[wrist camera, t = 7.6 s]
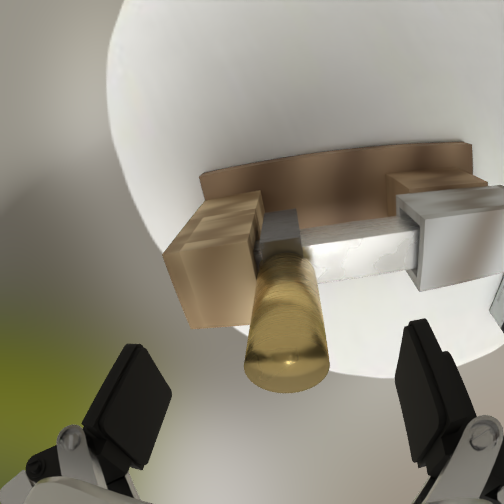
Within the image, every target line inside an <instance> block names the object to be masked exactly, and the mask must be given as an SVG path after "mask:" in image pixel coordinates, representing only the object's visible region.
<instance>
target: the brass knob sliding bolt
mask: <svg viewBox="0 0 504 504" xmlns="http://www.w3.org/2000/svg"><path fill="white" fill-rule="evenodd" d="M419 241H420V226H419V225H418V224H417V223H416V222H415V221H414V220H413V219H412V218H411V217H410V216H409V215H408V214H407V215H399V216H391V217H384V218H376V219H369V220H362V221H354V222H347V223H340V224H333V225H326V226H319V227H312V228H305V229H299V222H298V216H297V210H296V208H294V209H288V210H281V211H275V212H268V213H264V218H263V224H262V230H261V236H260V240H255V245H254V250H253V252H254V256H255V261H256V265H257V270H258V276H257V282H256V289H255V296H254V303H253V309H252V316H251V322H250V329H249V336H248V342H247V349H246V355H245V362H244V370H245V373H246V375H247V377H248V378H249V379H250V381H251V382H253V383H254V384H255V385H257V386H258V387H260V388H262V389H265V390H268V391H272V392H277V393H295V392H300V391H304V390H307V389H310V388H312V387H314V386H316V385H317V384H318V383H320V382H321V381H322V380H323V379H324V378H325V377H326V375H327V373H328V371H329V368H330V362H329V355H328V348H327V341H326V334H325V328H324V321H323V315H322V309H321V303H320V297H319V291H318V285H317V284H320V283H327V282H334V281H340V280H347V279H353V278H360V277H366V276H372V275H379V274H385V273H391V272H397V271H402V270H408V269H414V268H418V258H419Z"/></svg>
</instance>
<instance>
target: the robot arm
mask: <svg viewBox="0 0 504 504" xmlns="http://www.w3.org/2000/svg"><path fill="white" fill-rule="evenodd" d="M395 385H396V389H397V393H398V397H399V401H400V404H401V409H402V413H403V418H404V422H405V427H406V431H407V436H408V441H409V446H410V451H411V457H412V461H413V462H414V463H415V462H417V463H418V468H421V467H424V466H426V467H427V473H428V475H429V477H428V479H427V480H426V482H425V484H424V485H423V487H422V488H421V490H420V491H419V493H418V494H417V496H416V498H415V499H414V500H413V502H412V503H411V504H504V433H503V427H502V425H501V423H500V422H499V421H498V420H497V419H496V418H494V417H492V416H488V415H482V416H478V417H477V416H476V413H475V411H474V408H473V405H472V403H471V400H470V398H469V395H468V393H467V390H466V388H465V385H464V383H463V380H462V378H461V376H460V374H459V371H458V369H457V367H456V364H455V362H454V360H453V358H452V356H451V354H450V353H449V352H448V351H444V352H442V350H441V348H440V346H439V344H438V342H437V339H436V337H435V335H434V333H433V331H432V329H431V327H430V325H429V323H428V321H427V320H426V319H425V318H424V319H419V320H414V321H410V322H409V325H408V326H406V327H404V331H403V337H402V343H401V348H400V354H399V359H398V364H397V369H396V373H395ZM171 397H172V392H171V389H170V387H169V386H168V384H167V383H166V381H165V380H164V378H163V376H162V375H161V373H160V371H159V370H158V368H157V366H156V365H155V363H154V361H153V360H152V358H151V356H150V354H149V353H148V351H147V349H145V348H144V347H143V346H142V345H141V344H126V345H125V346H124V348H123V350H122V351H121V353H120V355H119V357H118V358H117V360H116V362H115V363H114V365H113V367H112V369H111V370H110V372H109V374H108V376H107V377H106V379H105V381H104V383H103V384H102V386H101V388H100V390H99V392H98V394H97V395H96V397H95V399H94V401H93V403H92V405H91V406H90V408H89V410H88V412H87V414H86V416H85V418H84V420H83V421H82V425H83V426H84V427H83V429H82V428H81V427H80V426H78V425H69V426H67V427H65V428H64V429H63V430H62V431H61V432H60V433H59V435H58V437H57V445H55V446H53V447H51V448H49V449H47V450H44V451H42V452H40V453H38V454H35V455H34V456H32V457H31V458H30V459H29V460H28V462H27V465H26V471H25V470H23V471H21V472H20V473H19V474H18V475H17V476H15V477H14V478H13V479H12V480H11V481H9V482H8V483H7V484H6V485H5V486H3V487H2V489H1V491H0V502H1V504H152V503H148V502H144V501H141V500H140V497H139V495H138V493H137V491H136V488H135V486H134V484H133V481H132V479H131V476H130V474H129V471H128V470H129V467H132V468H135V469H139V470H143V468H144V465H146V464H147V463H148V461H149V458H150V456H151V453H152V450H153V447H154V444H155V442H156V439H157V436H158V433H159V431H160V428H161V425H162V422H163V420H164V417H165V414H166V411H167V409H168V406H169V403H170V400H171Z"/></svg>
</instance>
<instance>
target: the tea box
mask: <svg viewBox="0 0 504 504" xmlns="http://www.w3.org/2000/svg"><path fill="white" fill-rule="evenodd" d="M490 313H491V314H492V316H493V317H494V319H495V321H496V322H497V324H498V325H499V327H500V328H501V330H502V331H503V333H504V278H503V280H502V283H501V285H500V288H499V290H498V292H497V295H496V297H495V299H494V301H493V304H492V306H491V308H490Z"/></svg>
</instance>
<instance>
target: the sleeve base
mask: <svg viewBox="0 0 504 504" xmlns="http://www.w3.org/2000/svg"><path fill="white" fill-rule="evenodd" d="M199 179H200V183H201V187H202V190H203V194H204V198H205V200H210V199H215V198H221V197H226V196H231V195H237V194H242V193H248V192H254V191H259V190H261V195H262V200H263V205H264V210H265V213H268V212H275V211H281V210H288V209H294V208H296V210H297V216H298V222H299V229H305V228H312V227H319V226H326V225H333V224H340V223H347V222H354V221H362V220H369V219H376V218H384V217H391V216H399V215H407V214H408V215H409V216H410V217H411V218H412V219H413V220H414V221H415V222H416V223H417V224H418V225H419V226H420V241H419V258H418V268H414V269H408V270H406V272H407V273H408V275H409V276H410V278H411V279H412V281H413V282H414V284H415V286H416V287H417V289H418V290H419V292H422V291H427V290H431V289H436V288H441V287H445V286H450V285H454V284H459V283H463V282H467V281H471V280H475V279H480V278H484V277H487V276H491V275H495V274H499V273H503V272H504V186H502V185H497V186H488V182H486V181H484V180H482V179H480V178H478V177H476V176H474V175H473V158H472V144H468V143H464V142H441V143H415V144H399V145H385V146H373V147H362V148H352V149H343V150H335V151H327V152H319V153H311V154H304V155H298V156H291V157H285V158H279V159H273V160H267V161H261V162H255V163H250V164H245V165H240V166H235V167H230V168H225V169H220V170H215V171H211V172H206V173H203V174H202V175H201V176H199Z"/></svg>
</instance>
